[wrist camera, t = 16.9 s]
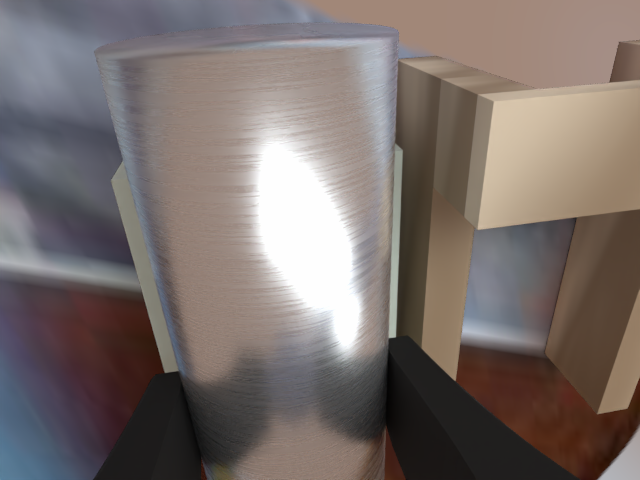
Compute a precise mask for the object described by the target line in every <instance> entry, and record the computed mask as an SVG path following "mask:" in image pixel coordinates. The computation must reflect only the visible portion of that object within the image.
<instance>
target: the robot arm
mask: <svg viewBox="0 0 640 480" xmlns="http://www.w3.org/2000/svg"><path fill="white" fill-rule="evenodd" d="M386 426H387V429H388V432H389V436H390V439H391V442H392V446H393V448H394V451H395V453H396V456H397V458H398V461H399V463H400V466H401V468H402V471H403V473H404V475H405V478H406V480H580V479H579V478H577V477H576V476H574V475H573V474H571V473H570V472H568V471H567V470H565V469H564V468H562V467H561V466H559V465H558V464H557V463H555V462H554V461H552V460H551V459H550V458H548V457H547V456H545V455H544V454H543V453H541V452H540V451H539V450H537V449H536V448H535V447H533V446H532V445H531V444H529V443H528V442H527V441H525V440H524V439H523V438H521V437H520V436H519V435H518V434H516V433H515V432H514V431H513V430H511V429H510V428H509V427H508V426H506V425H505V424H504V423H503V422H501V421H500V420H499V419H498V418H496V417H495V416H494V415H493V414H492V413H491V412H489V411H488V410H487V409H486V408H485V407H484V406H482V405H481V404H480V403H479V402H478V401H477V400H476V399H475V398H473V397H472V396H471V395H470V394H469V393H468V392H467V391H466V390H464V389H463V388H462V387H461V386H460V385H459V384H458V383H457V382H456V381H455V380H453V379H452V378H451V377H450V376H449V375H448V374H447V373H446V372H445V371H444V370H443V369H442V368H441V367H440V366H439V365H438V364H437V363H436V362H435V361H434V360H433V359H432V358H431V357H430V356H429V355H428V354H427V353H426V352H425V351H424V350H423V349H422V348H421V347H420V346H419V345H418V344H417V343H416V342H415V341H414V340H413V339H412V338H410V337H409V336H408V335H406V336H400V337H394V338H389V345H388V375H387V405H386ZM93 480H201V453H200V450H199V446H198V442H197V438H196V434H195V431H194V427H193V423H192V419H191V416H190V412H189V408H188V404H187V400H186V397H185V393H184V389H183V385H182V381H181V378H180V374H179V371H175V372H168V373H162V374H156V375H155V376H154V377H153V378H152V379H151V381H150V383H149V385H148V387H147V389H146V391H145V393H144V394H143V396H142V398H141V400H140V402H139V404H138V406H137V407H136V409H135V411H134V413H133V415H132V417H131V418H130V420H129V422H128V424H127V425H126V427H125V429H124V431H123V432H122V434H121V436H120V437H119V439H118V441H117V442H116V444H115V446H114V447H113V449H112V451H111V452H110V454H109V455H108V457H107V459H106V460H105V462H104V464H103V465H102V467H101V469H100V470H99V472H98V473H97V475H96V476H95V478H94V479H93Z"/></svg>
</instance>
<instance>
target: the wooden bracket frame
mask: <svg viewBox="0 0 640 480" xmlns="http://www.w3.org/2000/svg"><path fill="white" fill-rule="evenodd" d="M395 143H396V144H397V145H398V146H399V147H400V148H401V149H402V150H403V159H402V185H401V212H400V238H399V265H398V291H397V318H396V337H400V336H406V335H408V336H409V337H410V338H412V339H413V340H414V341H415V342H416V343H417V344H418V345H419V346H420V347H421V348H422V349H423V350H424V351H425V352H426V353H427V354H428V355H429V356H430V357H431V358H432V359H433V360H434V361H435V362H436V363H437V364H438V365H439V366H440V367H441V368H442V369H443V370H444V371H445V372H446V373H447V374H448V375H449V376H450V377H451V378H452V379H453V380H455V381H456V373H457V365H458V357H459V349H460V341H461V333H462V325H463V317H464V309H465V301H466V293H467V285H468V276H469V268H470V260H471V252H472V244H473V236H474V228H476V229H477V230H481V229H489V228H497V227H504V226H512V225H520V224H528V223H536V222H543V221H551V220H559V219H567V218H574V217H577V220H576V224H575V228H574V232H573V237H572V241H571V245H570V249H569V253H568V258H567V262H566V266H565V270H564V274H563V278H562V283H561V287H560V291H559V295H558V299H557V303H556V308H555V312H554V316H553V320H552V324H551V329H550V333H549V337H548V341H547V345H546V349H545V354H546V356H547V357H548V358H549V359H550V360H551V361H552V363H553V364H554V365H555V366H556V367H557V368H558V369H559V371H560V372H561V373H562V374H563V375H564V376H565V378H566V379H567V380H568V381H569V382H570V383H571V384H572V386H573V387H574V388H575V389H576V390H577V391H578V393H579V394H580V395H581V396H582V397H583V398H584V399H585V401H586V402H587V403H588V404H589V405H590V406H591V408H592V409H593V410H594V411H595V412H596V413H597V414H600V413H606V412H611V411H616V410H622V409H627V408H628V406H629V403H630V401H631V398H632V395H633V393H634V390H635V388H636V385H637V382H638V380H639V377H640V40H636V41H624V42H619V45H618V49H617V53H616V57H615V61H614V66H613V70H612V74H611V78H610V82H609V83H601V84H590V85H579V86H567V87H557V88H546V89H536V88H533V87H530V86H527V85H524V84H521V83H518V82H515V81H512V80H509V79H506V78H503V77H500V76H496V75H493V74H490V73H487V72H484V71H481V70H478V69H475V68H472V67H469V66H466V65H463V64H460V63H457V62H454V61H450V60H447V59H444V58H441V57H438V56H431V57H418V58H405V59H398V73H397V103H396V133H395Z"/></svg>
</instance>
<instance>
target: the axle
mask: <svg viewBox="0 0 640 480" xmlns="http://www.w3.org/2000/svg"><path fill="white" fill-rule="evenodd" d="M398 42H399V32H398V30H396V29H394V28H391V27H387V26H380V25H372V24H358V23H285V24H263V25H246V26H232V27H219V28H208V29H198V30H188V31H179V32H171V33H163V34H157V35H150V36H144V37H138V38H132V39H127V40H122V41H118V42H114V43H110V44H107V45H104V46H101V47H99V48H97V49H96V50H95V51H94V53H95V57H96V60H97V64H98V68H99V72H100V76H101V79H102V83H103V87H104V91H105V94H106V98H107V102H108V106H109V110H110V113H111V117H112V121H113V125H114V129H115V132H116V136H117V140H118V144H119V147H120V151H121V155H122V159H123V163H124V166H125V170H126V174H127V178H128V181H129V185H130V189H131V193H132V197H133V200H134V204H135V208H136V212H137V216H138V219H139V223H140V227H141V231H142V234H143V238H144V242H145V246H146V250H147V253H148V257H149V261H150V265H151V268H152V272H153V276H154V280H155V284H156V287H157V291H158V295H159V299H160V303H161V306H162V310H163V314H164V318H165V321H166V325H167V329H168V333H169V337H170V340H171V344H172V348H173V352H174V355H175V359H176V363H177V367H178V371H179V374H180V378H181V381H182V385H183V389H184V393H185V397H186V400H187V404H188V408H189V412H190V416H191V419H192V423H193V427H194V431H195V434H196V438H197V442H198V446H199V450H200V453H201V458H202V461H203V465H204V469H205V473H206V477H207V480H384V466H385V435H386V405H387V375H388V345H389V314H390V284H391V254H392V224H393V194H394V163H395V133H396V103H397V73H398Z"/></svg>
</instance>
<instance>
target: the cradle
mask: <svg viewBox="0 0 640 480" xmlns="http://www.w3.org/2000/svg"><path fill="white" fill-rule="evenodd" d="M402 159H403V150H402V149H401V148H400V147H399V146H398V145H397V144H396V143H395V163H394V194H393V224H392V254H391V284H390V314H389V338H394V337H396V318H397V291H398V265H399V238H400V212H401V185H402ZM111 183H112V186H113V190H114V193H115V197H116V201H117V204H118V208H119V211H120V215H121V218H122V222H123V226H124V229H125V233H126V236H127V240H128V243H129V247H130V250H131V254H132V258H133V261H134V265H135V268H136V272H137V275H138V279H139V282H140V286H141V290H142V293H143V297H144V300H145V304H146V307H147V311H148V315H149V318H150V322H151V325H152V329H153V332H154V336H155V339H156V343H157V347H158V350H159V354H160V357H161V361H162V364H163V368H164V372H165V373H168V372H175V371H178V367H177V363H176V359H175V355H174V352H173V348H172V344H171V340H170V337H169V333H168V329H167V325H166V321H165V318H164V314H163V310H162V306H161V303H160V299H159V295H158V291H157V287H156V284H155V280H154V276H153V272H152V268H151V265H150V261H149V257H148V253H147V250H146V246H145V242H144V238H143V234H142V231H141V227H140V223H139V219H138V216H137V212H136V208H135V204H134V200H133V197H132V193H131V189H130V185H129V181H128V178H127V174H126V170H125V166H124V163H123V161H122V163H121V165H120V166H119V168H118V170H117V171H116V173H115V174H114V176H113V178H112V179H111Z"/></svg>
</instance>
